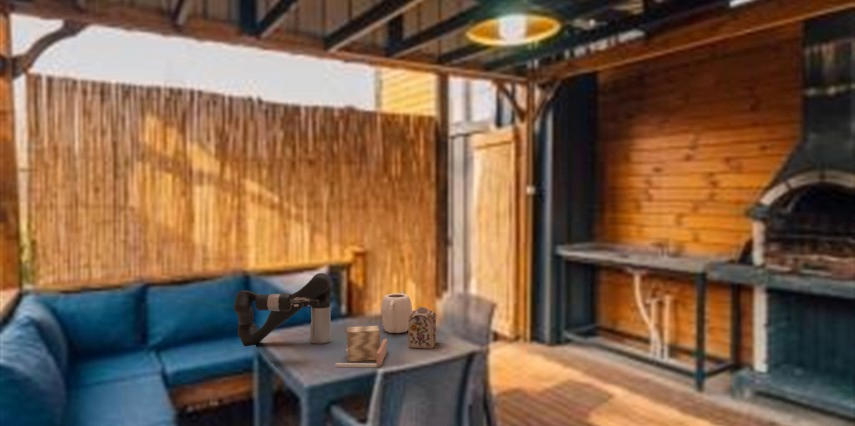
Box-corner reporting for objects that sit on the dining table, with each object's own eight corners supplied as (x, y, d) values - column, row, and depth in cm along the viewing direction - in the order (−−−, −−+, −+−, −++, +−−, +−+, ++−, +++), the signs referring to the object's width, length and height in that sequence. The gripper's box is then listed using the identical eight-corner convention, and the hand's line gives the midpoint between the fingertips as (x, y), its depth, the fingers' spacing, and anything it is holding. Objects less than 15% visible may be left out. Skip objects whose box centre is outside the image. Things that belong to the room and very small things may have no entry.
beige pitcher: (417, 324, 331) (417, 290, 330) (405, 337, 305) (405, 300, 304) (389, 323, 335) (389, 289, 334) (375, 336, 309) (375, 299, 308)
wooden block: (348, 361, 267) (347, 332, 267) (347, 355, 276) (346, 327, 275) (380, 359, 270) (379, 330, 269) (378, 353, 279) (377, 325, 278)
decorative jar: (432, 349, 285) (432, 310, 284) (408, 348, 287) (407, 310, 286) (436, 342, 297) (436, 305, 296) (413, 341, 299) (412, 304, 298)
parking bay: (335, 366, 260) (335, 352, 260) (346, 351, 283) (346, 338, 282) (380, 367, 259) (379, 353, 258) (387, 351, 282) (387, 338, 281)
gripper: (284, 307, 278) (322, 307, 277) (275, 314, 265) (314, 314, 264) (284, 291, 278) (321, 291, 277) (275, 296, 265) (314, 297, 264)
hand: (318, 302), depth 270 cm, fingers closed
